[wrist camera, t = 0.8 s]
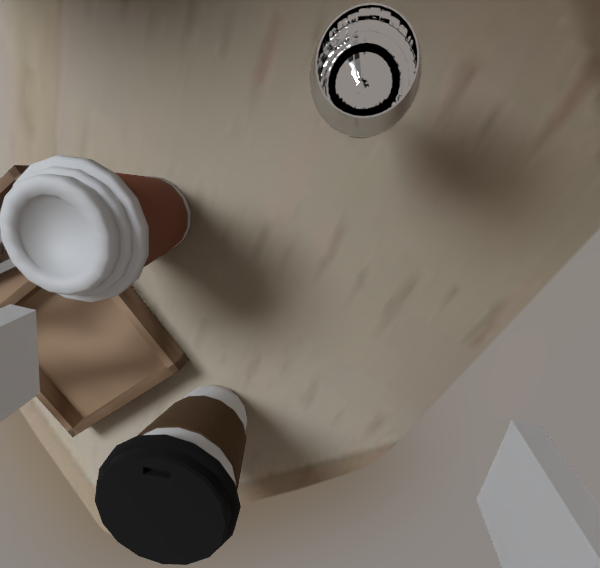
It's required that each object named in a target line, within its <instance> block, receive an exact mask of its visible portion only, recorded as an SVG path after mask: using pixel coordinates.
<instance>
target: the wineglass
mask: <svg viewBox="0 0 600 568" xmlns="http://www.w3.org/2000/svg"><path fill="white" fill-rule="evenodd" d="M421 74H422V57H421V50H420V46H419V42H418V39H417V36H416V34H415V31H414V29H413V28H412V26H411V24H410V23H409V22H408V21H407V19H406V18H405V17H404V16H403V15H402V14H401V13H399V12H398V11H397V10H395V9H394V8H392V7H389V6H387V5H384V4H381V3H362V4H359V5H355V6H353V7H351V8H349V9H347V10H345V11H343V12H342V13H341V14H340V15H338V16H337V17H336V18H335V19H334V20H333V21H332V22H331V23H330V25H329V26H328V27H327V28H326V30H325V31H324V33H323V34H322V36H321V38H320V39H319V42H318V44H317V46H316V49H315V52H314V55H313V58H312V62H311V71H310V85H311V93H312V97H313V101H314V104H315V106H316V108H317V110H318V112H319V114H320V115H321V117H322V118H323V119H324V120H325V122H326V123H327V124H328V125H329V126H331V127H332V128H333V129H335V130H336V131H338V132H340V133H342V134H345V135H348V136H352V137H371V136H375V135H378V134H380V133H383V132H385V131H387V130H388V129H390V128H391V127H393V126H394V125H395V124H397V123H398V122H399V121H400V120H401V119H402V118H403V117H404V115H405V114H406V113H407V111H408V110H409V108H410V107H411V105H412V103H413V102H414V100H415V97H416V94H417V92H418V89H419V85H420V79H421Z"/></svg>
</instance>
